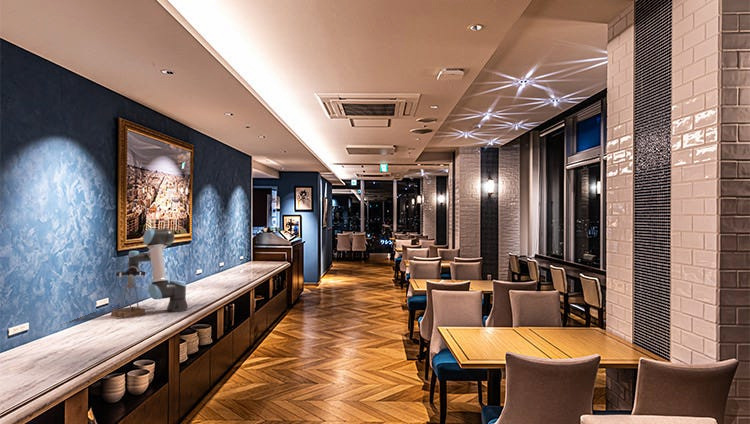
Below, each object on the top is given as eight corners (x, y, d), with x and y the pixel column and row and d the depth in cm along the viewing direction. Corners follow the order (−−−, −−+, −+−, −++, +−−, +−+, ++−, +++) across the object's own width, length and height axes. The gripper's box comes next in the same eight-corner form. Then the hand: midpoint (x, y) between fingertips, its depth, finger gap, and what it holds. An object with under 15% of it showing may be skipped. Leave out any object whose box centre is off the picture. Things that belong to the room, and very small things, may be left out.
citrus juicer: (130, 316, 344) (131, 275, 344) (117, 316, 344) (117, 275, 344) (138, 313, 355) (139, 273, 355) (125, 313, 356) (126, 273, 356)
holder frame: (145, 314, 353) (145, 309, 353) (122, 318, 338) (123, 313, 338) (133, 311, 361) (133, 306, 361) (110, 315, 347) (110, 310, 347)
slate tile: (154, 308, 374) (154, 307, 374) (137, 311, 362) (137, 310, 362) (144, 306, 382) (144, 305, 382) (127, 309, 370) (127, 308, 370)
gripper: (149, 275, 383) (148, 279, 364) (114, 276, 374) (111, 280, 354) (149, 266, 383) (148, 269, 364) (114, 267, 374) (111, 270, 354)
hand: (130, 275), depth 359 cm, fingers open, 13 cm apart
